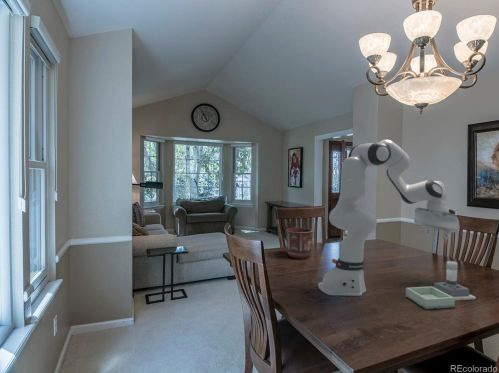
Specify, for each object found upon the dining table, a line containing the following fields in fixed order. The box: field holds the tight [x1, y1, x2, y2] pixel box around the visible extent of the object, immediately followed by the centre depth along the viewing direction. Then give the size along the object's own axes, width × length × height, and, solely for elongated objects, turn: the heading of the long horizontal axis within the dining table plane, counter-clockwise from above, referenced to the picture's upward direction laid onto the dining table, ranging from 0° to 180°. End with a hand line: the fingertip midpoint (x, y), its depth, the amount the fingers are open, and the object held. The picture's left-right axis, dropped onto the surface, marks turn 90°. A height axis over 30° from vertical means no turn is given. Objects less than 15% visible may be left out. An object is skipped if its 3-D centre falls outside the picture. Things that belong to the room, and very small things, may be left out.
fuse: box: [445, 260, 459, 288], centre depth 140 cm, size 4×4×14 cm
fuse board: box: [433, 281, 477, 301], centre depth 141 cm, size 13×13×4 cm
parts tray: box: [405, 285, 456, 310], centre depth 133 cm, size 13×13×4 cm
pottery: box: [285, 227, 314, 260], centre depth 204 cm, size 18×18×18 cm
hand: (436, 236), depth 151 cm, fingers open, 8 cm apart
